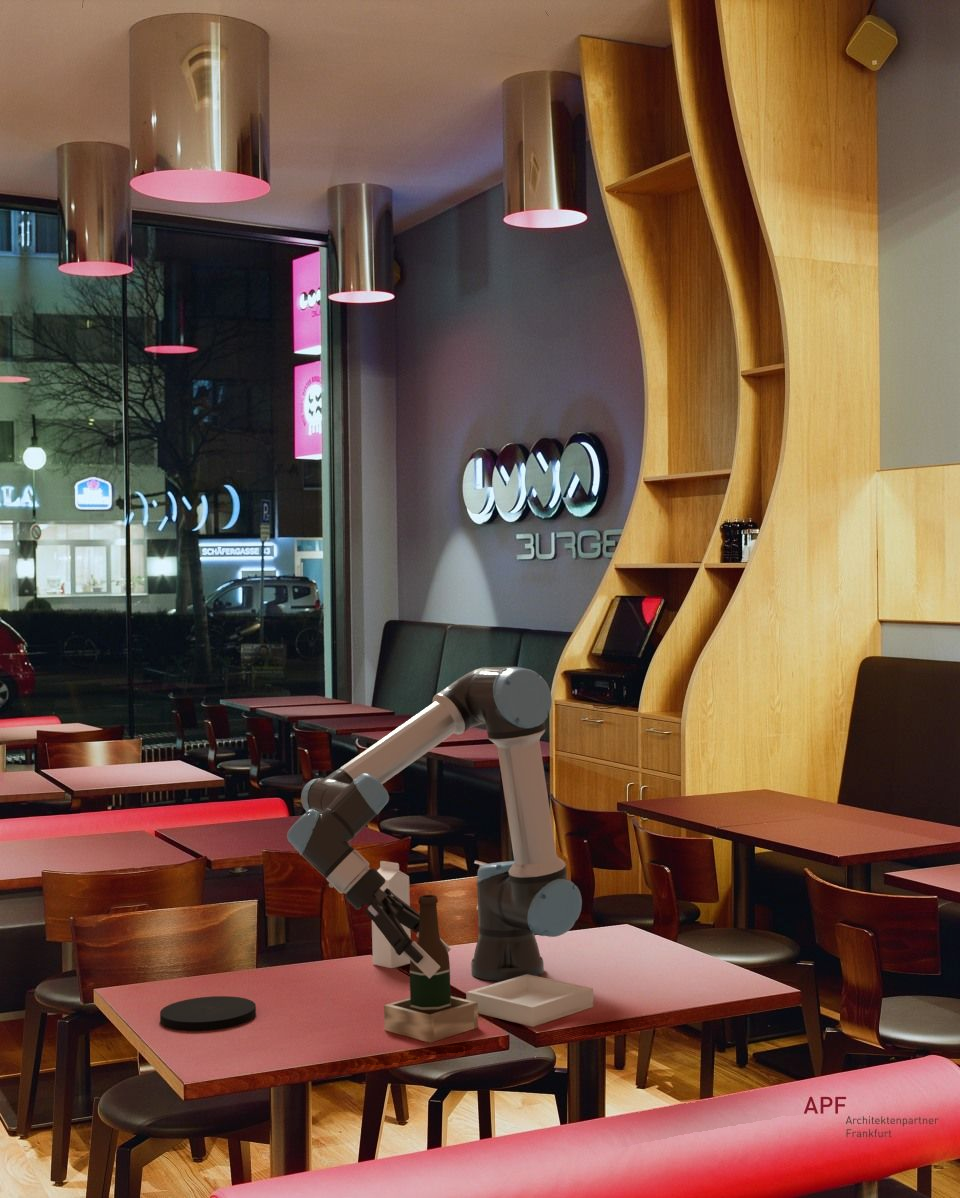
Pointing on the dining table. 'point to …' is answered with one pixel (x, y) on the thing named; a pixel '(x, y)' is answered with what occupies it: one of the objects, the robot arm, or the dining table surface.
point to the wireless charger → (207, 1013)
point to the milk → (380, 945)
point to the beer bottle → (435, 990)
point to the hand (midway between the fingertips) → (440, 963)
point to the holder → (431, 1020)
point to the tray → (531, 999)
